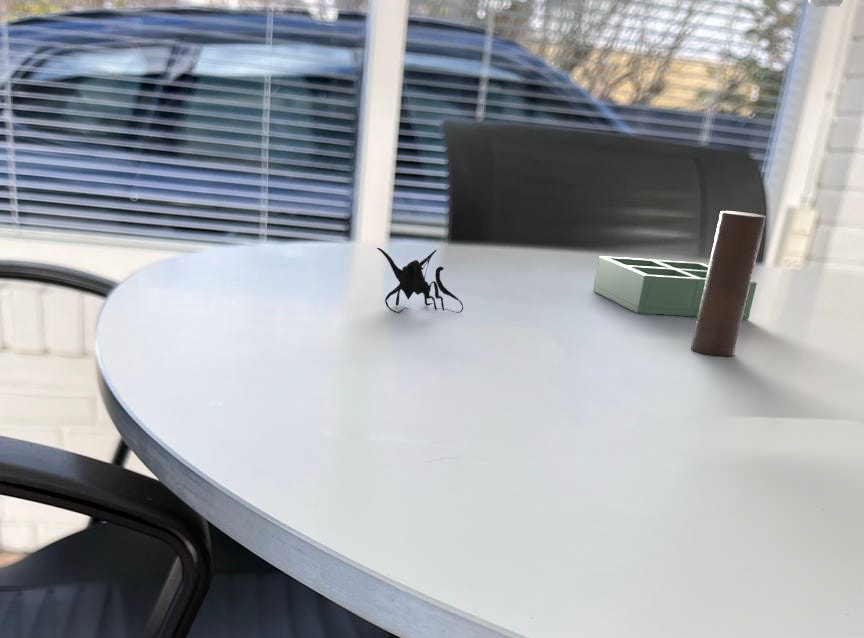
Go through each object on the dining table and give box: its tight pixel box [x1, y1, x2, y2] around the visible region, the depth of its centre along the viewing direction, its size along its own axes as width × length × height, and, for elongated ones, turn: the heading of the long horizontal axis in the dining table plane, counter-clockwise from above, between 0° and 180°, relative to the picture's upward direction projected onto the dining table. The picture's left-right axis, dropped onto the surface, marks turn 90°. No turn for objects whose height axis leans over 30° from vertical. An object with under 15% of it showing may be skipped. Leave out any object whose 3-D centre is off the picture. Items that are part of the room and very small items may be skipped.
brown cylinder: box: [690, 210, 767, 357], centre depth 88 cm, size 4×4×11 cm
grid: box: [592, 255, 758, 321], centre depth 110 cm, size 12×12×4 cm
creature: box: [376, 247, 464, 314], centre depth 95 cm, size 8×5×8 cm
